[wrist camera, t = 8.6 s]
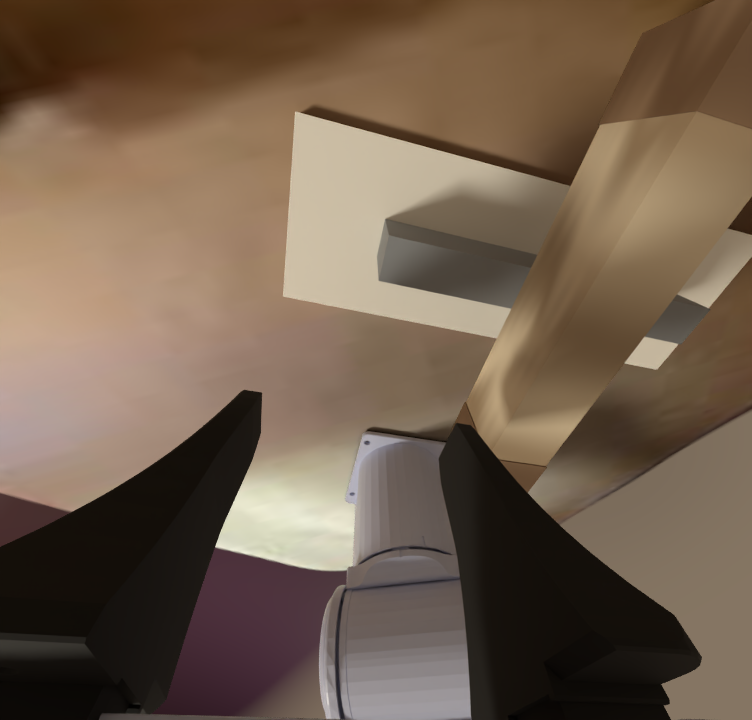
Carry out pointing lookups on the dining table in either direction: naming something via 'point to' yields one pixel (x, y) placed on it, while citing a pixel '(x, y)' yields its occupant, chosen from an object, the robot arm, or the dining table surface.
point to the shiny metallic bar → (624, 233)
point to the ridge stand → (442, 236)
